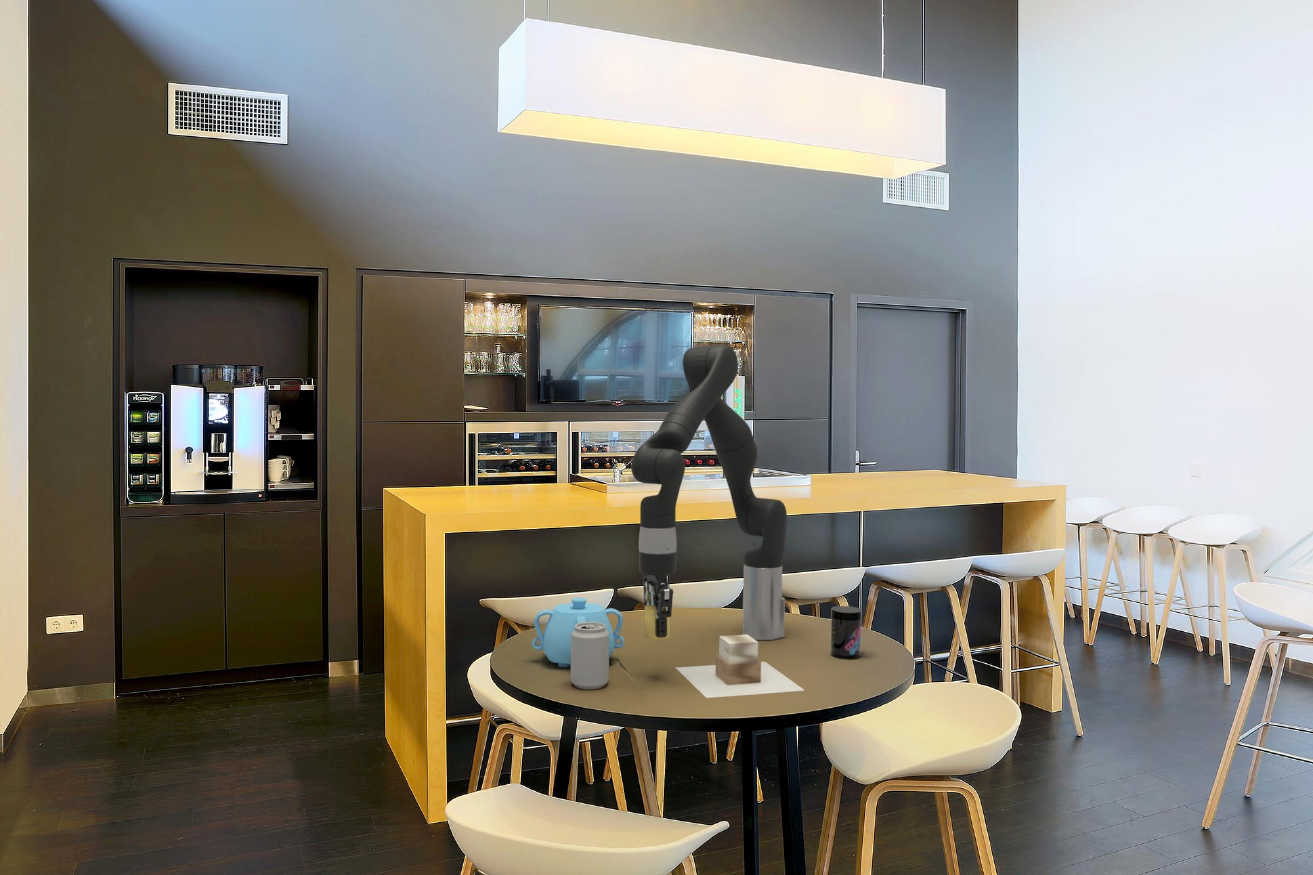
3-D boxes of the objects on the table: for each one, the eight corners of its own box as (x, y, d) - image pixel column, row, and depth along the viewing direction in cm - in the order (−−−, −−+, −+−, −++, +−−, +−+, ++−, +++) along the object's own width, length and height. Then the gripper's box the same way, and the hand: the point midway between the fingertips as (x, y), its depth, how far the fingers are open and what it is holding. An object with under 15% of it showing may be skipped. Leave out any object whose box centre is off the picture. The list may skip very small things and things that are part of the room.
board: (765, 666, 198) (765, 661, 198) (804, 695, 179) (804, 690, 179) (675, 672, 193) (675, 667, 193) (706, 703, 174) (706, 697, 174)
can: (570, 679, 187) (571, 620, 187) (607, 678, 188) (608, 620, 188) (570, 690, 180) (571, 629, 179) (609, 690, 181) (609, 629, 180)
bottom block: (747, 672, 190) (748, 653, 190) (760, 682, 184) (761, 662, 183) (715, 674, 188) (715, 655, 188) (727, 685, 182) (727, 664, 182)
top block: (746, 653, 190) (747, 634, 189) (757, 662, 184) (758, 642, 184) (718, 655, 188) (719, 636, 188) (729, 663, 182) (729, 643, 182)
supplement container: (840, 660, 204) (841, 613, 203) (824, 652, 210) (825, 606, 210) (866, 658, 206) (867, 611, 205) (850, 650, 212) (851, 605, 212)
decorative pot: (574, 677, 189) (575, 611, 188) (524, 660, 200) (525, 598, 199) (631, 661, 201) (632, 599, 200) (581, 646, 212) (582, 587, 211)
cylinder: (665, 632, 188) (665, 603, 188) (672, 638, 184) (672, 608, 183) (641, 634, 187) (642, 604, 187) (648, 640, 182) (648, 610, 182)
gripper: (686, 554, 178) (686, 641, 179) (665, 542, 192) (665, 623, 193) (649, 556, 176) (648, 644, 177) (630, 543, 190) (630, 625, 191)
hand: (657, 632), depth 185 cm, fingers closed on cylinder, 5 cm apart
